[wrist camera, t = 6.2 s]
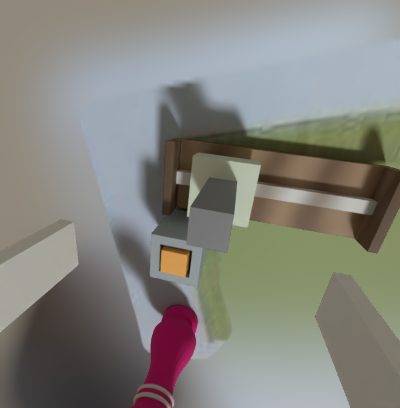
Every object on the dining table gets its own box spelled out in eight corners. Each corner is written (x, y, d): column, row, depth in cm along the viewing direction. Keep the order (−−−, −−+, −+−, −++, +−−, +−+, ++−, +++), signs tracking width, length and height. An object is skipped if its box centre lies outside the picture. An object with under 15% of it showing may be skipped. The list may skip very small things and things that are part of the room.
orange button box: (212, 215, 31) (203, 244, 23) (207, 251, 33) (197, 287, 26) (172, 208, 32) (151, 233, 24) (170, 243, 34) (149, 276, 26)
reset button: (197, 230, 29) (187, 255, 24) (195, 249, 30) (185, 277, 25) (176, 226, 30) (161, 250, 24) (175, 245, 31) (160, 271, 25)
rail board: (386, 166, 25) (415, 174, 21) (357, 234, 28) (377, 253, 24) (177, 138, 28) (166, 140, 24) (172, 202, 31) (162, 214, 27)
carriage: (258, 160, 24) (272, 190, 13) (247, 216, 27) (250, 281, 16) (198, 152, 25) (163, 173, 14) (192, 207, 28) (159, 262, 17)
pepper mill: (162, 298, 38) (86, 461, 20) (202, 307, 37) (162, 487, 19) (161, 327, 41) (94, 496, 22) (198, 336, 40) (160, 521, 21)
